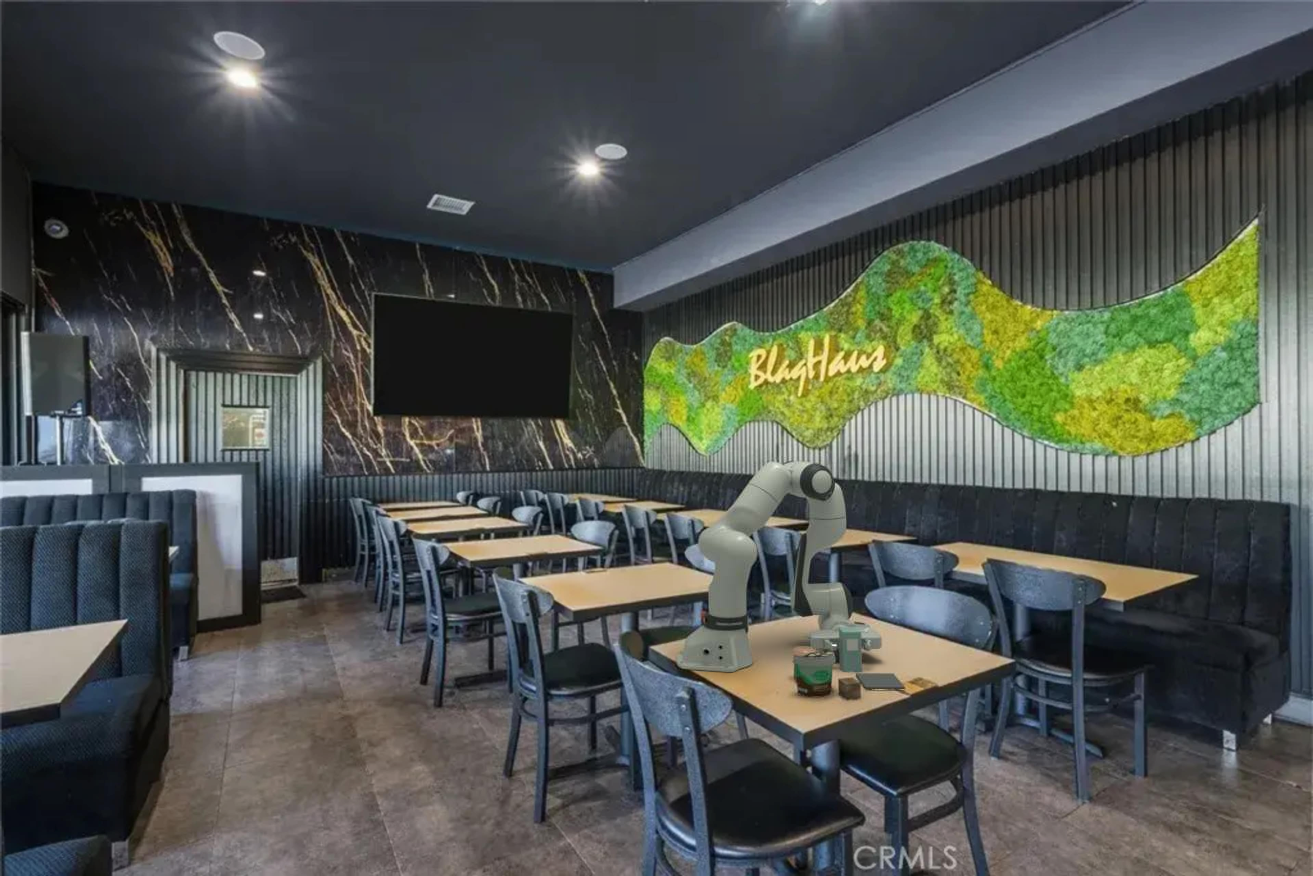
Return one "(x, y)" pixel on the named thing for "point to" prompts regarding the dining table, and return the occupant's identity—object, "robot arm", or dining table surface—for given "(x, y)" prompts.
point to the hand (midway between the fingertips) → (850, 648)
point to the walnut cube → (849, 688)
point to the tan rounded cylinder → (802, 653)
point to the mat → (879, 681)
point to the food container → (814, 673)
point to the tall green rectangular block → (850, 649)
